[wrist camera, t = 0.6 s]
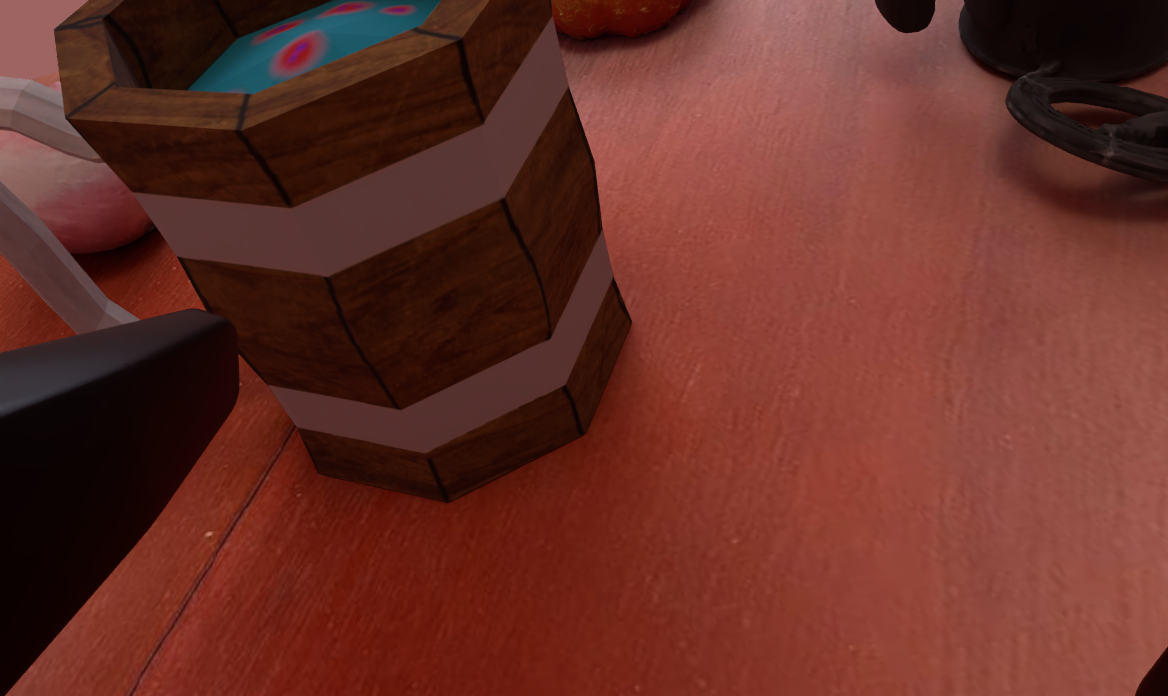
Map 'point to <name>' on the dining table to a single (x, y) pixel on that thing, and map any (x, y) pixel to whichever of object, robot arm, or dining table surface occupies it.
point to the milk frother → (1070, 69)
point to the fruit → (613, 16)
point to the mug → (352, 215)
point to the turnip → (72, 195)
